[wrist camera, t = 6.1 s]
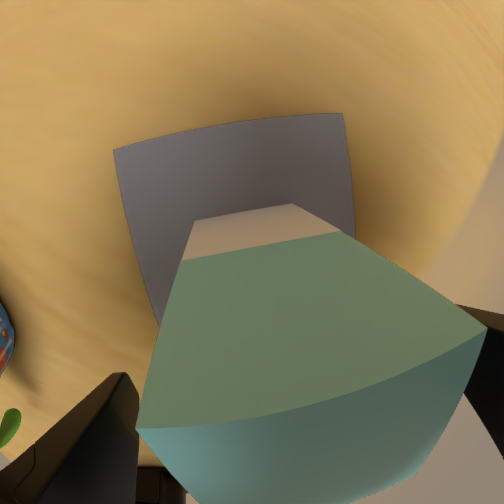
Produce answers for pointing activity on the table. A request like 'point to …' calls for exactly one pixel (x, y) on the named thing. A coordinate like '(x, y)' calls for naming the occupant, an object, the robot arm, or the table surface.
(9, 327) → the snack cup
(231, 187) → the mat
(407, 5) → the table surface
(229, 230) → the white block
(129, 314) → the table surface
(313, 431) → the teal block
